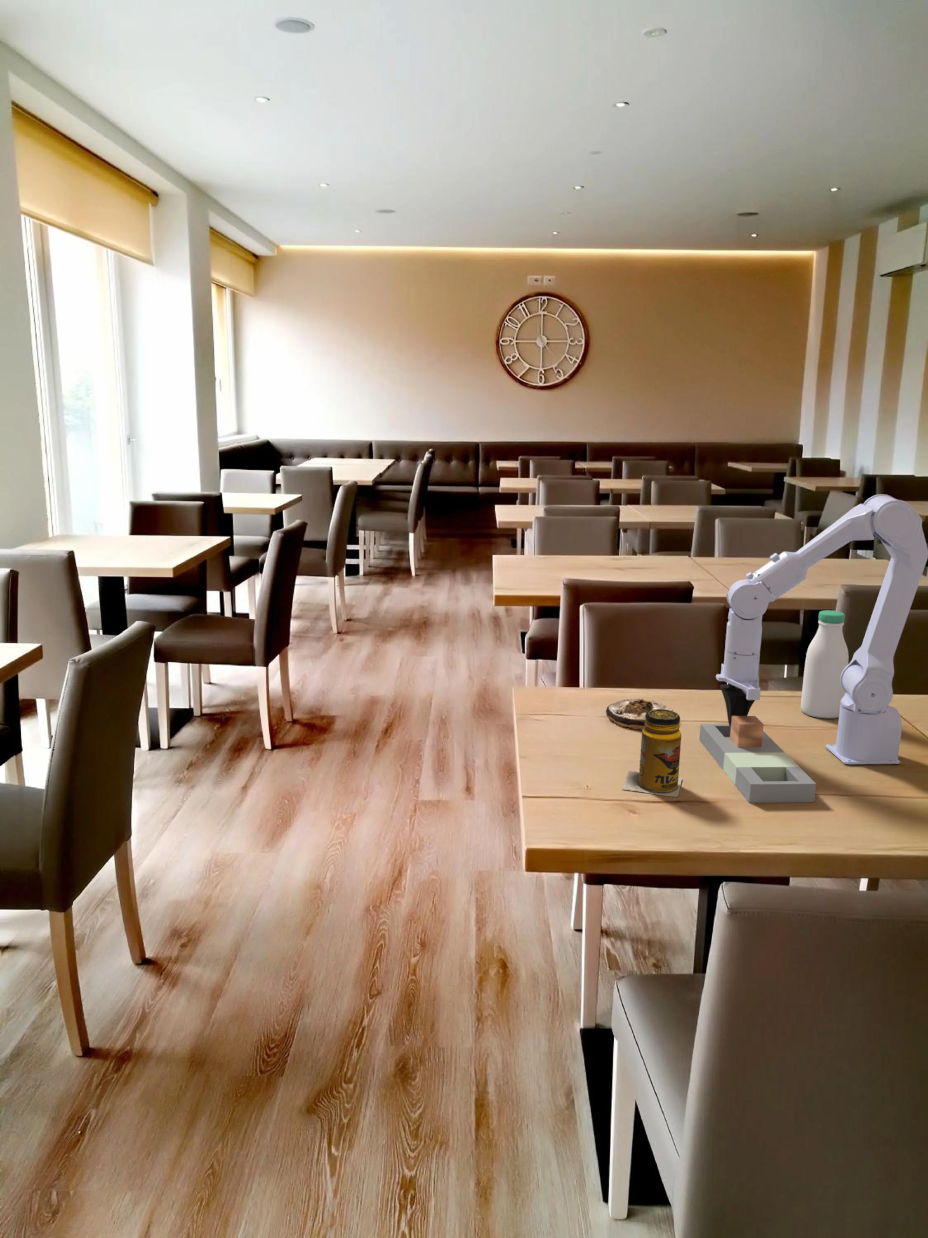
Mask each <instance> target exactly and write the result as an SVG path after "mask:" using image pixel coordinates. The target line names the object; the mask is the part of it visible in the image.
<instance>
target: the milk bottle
mask: <svg viewBox="0 0 928 1238" xmlns="http://www.w3.org/2000/svg"><path fill="white" fill-rule="evenodd" d="M845 619H846V614H845V613H843V612H841V611H837V610H829V609H828V610H827V609H826V610H821V611H819V613H818V622H817V623H818V628H817V630H816V633H815V635H814V637H813V639H812V640H811V642H810V643H809V645H808V648H807V651H806V654H805V655H806V657H805V661H804V671H803V679H802V680H803V682H802V689H801V701H800V710H801V712H802V713H803V714H805V715H807V716H811V717H814V718H818V719H827V720H828V719H837V718H838V719H839V713H840V704H841V700H842V698H843V697H844V695H845V692H846V691H845V690H844V689H843V688H842V686H841V682H840V677H841V673H842V671H843V670H844V668H845V667H846V666H847V665H848V664H849V649H848V646H847V643H846V641H845V638H844V633H843V626H844V625H845Z"/></svg>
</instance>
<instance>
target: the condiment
mask: <svg viewBox="0 0 928 1238" xmlns="http://www.w3.org/2000/svg"><path fill="white" fill-rule="evenodd" d="M666 709H667V708H666ZM666 709H654V710H650V711H648V712H647V713H646V715H645V718H646V720H645V727H644V728H643V730H641V740H640V755H639V756H640V757H639V768H638V769H639V771H636V770H634V771H633V770H628V773H627V776H626V779H625V781H624V784H623V787H622V790H626V791H630V792H631V791H632V792H640V793H646V794H647V793H648V794H652V795H657V796H658V795H659V796H666V797H673V798H674V797H679V794H680V793H679V792H680V790H681V784H682V779H683V778H682V777H679V775H680V774H679V773H680V762H681V761H680V759H681V743H682V732H681V730H680V727H681V726H680V723H681V721H680V720H681V717H680V715H679V714H678V713H677V712H675V711H674V710H673V711H674V712H673V711H671V710H672V709H669V710H666Z"/></svg>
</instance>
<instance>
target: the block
mask: <svg viewBox="0 0 928 1238" xmlns="http://www.w3.org/2000/svg"><path fill="white" fill-rule="evenodd" d="M763 731H764V723H763V722H762V721H761V720H760V719H759V718H758V717H757V716H756V715H747V716H732V720H731V731H730V739H731V740H732V741H733V742H734V743H735V745H736V746H737V747H761V746H762V735H763Z"/></svg>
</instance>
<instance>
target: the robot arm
mask: <svg viewBox="0 0 928 1238" xmlns="http://www.w3.org/2000/svg"><path fill="white" fill-rule="evenodd" d="M922 525H923V518H922V517H921V516H920V515H919V513H918V512H917V510H915V508H914V507H913V506H912V505H911V504H909V502H906V501H904V500H902V499H897V498H894V497H893V496H891V495H888V494H884V493H883V494H881V493H880V494H879V493H878V494H875V495H872V496H871V497H869V498H867V499H866V500H865V501H864V502H863V503H859V504H858V505H856V506H853V507H852V508H851V509H850V510H849V511H847V512H846V513H845V514H843V515H842V516H841V517H839V519H837V520H836V521H834V522H833V523H832V524H831V525H829V526H828V527H827V528H825V529H824V530H823V531H822V532H820V533H819V534H818V535H816V536H814V538H812V539H811V540H810V541H809V542H807V543H805V544H804V545H803V546H802V547H801V548H799V549H798V550H796V551H793V552H792V551H782V552H781V553H780V554H778V553H777V552H775V553H773V554H771V555H770V556H769V559H770V561H768V562H767V563H765V564H764V565H762V566H761V567H760V568H758V569H757V570H756V571H754V572H753V573H752V572H751V571H749V572H748V573H746V575H745V577H746V578H745V579H740V580H737V581H735V582H734V583H733V584H732V585H730V587H729V590H728V593H726V601H727V603H728V605H729V611H728V615H727V619H728V622H727V623H726V633H725V644H724V645H725V646H724V647H725V648H724V659H723V660H724V661H723V663H721V668H720V669H721V670H720V674H719V673H717V674H716V675H715V679H716V680H717V681H718V682H725V683H726V684H725V683H724V684H720V685H719V688H720V691H721V693H722V696H723V700H724V704H725V707H726V715H727V722H728V723H727V724H729V726H730V727H731V720H732V716H749V712H750V711H751V708H752V706H753V704H754V703H755V701H760V700H761V688H760V686H759V685H760V677H759V667H760V658H761V657H760V656H761V645H762V634H763V625H762V624H763V623H762V621H763V615H764V614H766V611H767V609H768V607H769V603H771V602H772V603H773V602H775V601H776V600H778V599H779V598H781V597H782V596H783V595H785V594H787V593H788V592H789V591H790V590H792V589H793V588H795V587H797V586H798V585H799V584H801V583H802V582H804V581H805V580H806V578H807V574H808V570H809V568H811V567H812V566H814V565H816V564H817V563H818V562H820V561H821V560H823V559H825V558H827V557H828V556H830V555H831V554H833V553H835V552H836V551H838V550H839V549H841V548H842V547H844V546H845V545H847V544H849V543H850V542H852V541H872V540H875V537H877V538H878V539H879V540H880V542H881V544H882V545H883V546H884V548H885V549H886V551H887V552H888V554H889V555H890V560H889V563H888V565H887V566H888V567H887V569H886V572H885V575H884V578H883V581H882V584H881V586H880V590H879V593H878V596H877V599H876V602H875V605H874V608H873V610H872V612H871V613H872V614H871V615H870V616H871V617H870V620H869V622H868V625H867V627H866V631H865V635H864V637H863V640H862V644H861V646H860V647H859V648H858V649H856V651H855V652H854V653H853V656H852V658H851V661H850V662H848V665H847V666H846V667H845V668H844V670H843V671H842V673H841V677H840V682H841V686H842V688H843V689H844V690H845V695H844V697H843V698H842V700H841V704H840V713H839V717H838V724H837V732H836V740H835V744H825V748H826V749H827V750H828V751H830V752H831V754H833V755H834V756H835V757H836V758H838V759H839V760H840V761H841V763H843V764H845V765H894V764H895V765H899V764H900V763H901V760H899V752H900V744H901V737H902V731H903V730H902V728H903V723H902V718H901V717H902V716H901V714H900V712H899V710H898V709H897V708H896V707H894V706H891V705H890V703H891V702H892V699H893V695H894V694H893V693H894V691H893V687H892V683H893V678H894V675H895V667H894V666H895V665H894V656H895V654H896V650H897V648H898V645H899V641H900V639H901V637H902V633H903V631H904V628H905V624H906V622H907V619H908V616H909V613H910V610H911V607H912V604H913V602H914V599H915V596H916V593H917V590H918V587H919V584H920V581H921V578H922V576H923V573H924V571H925V570H924V569H925V567H926V564H927V561H928V545H927V541H926V538H925V533H924V530H923V526H922ZM874 536H875V537H874ZM889 705H890V706H889Z"/></svg>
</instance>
